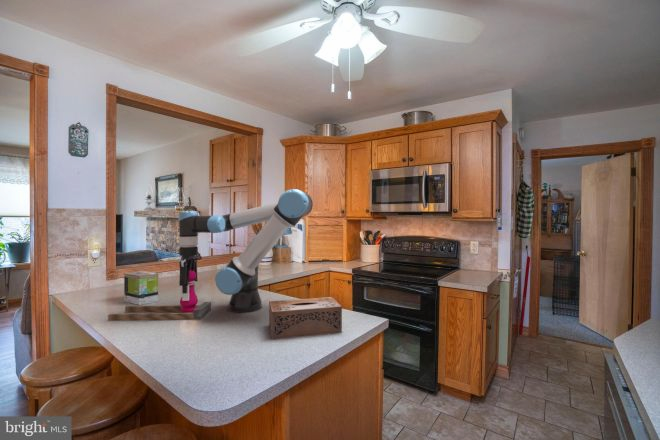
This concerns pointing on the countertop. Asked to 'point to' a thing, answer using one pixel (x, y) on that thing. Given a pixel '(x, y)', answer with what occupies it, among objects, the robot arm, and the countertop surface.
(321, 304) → the tissue box cover
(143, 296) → the tea box
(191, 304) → the pepper mill
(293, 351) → the countertop surface
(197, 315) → the guide track
